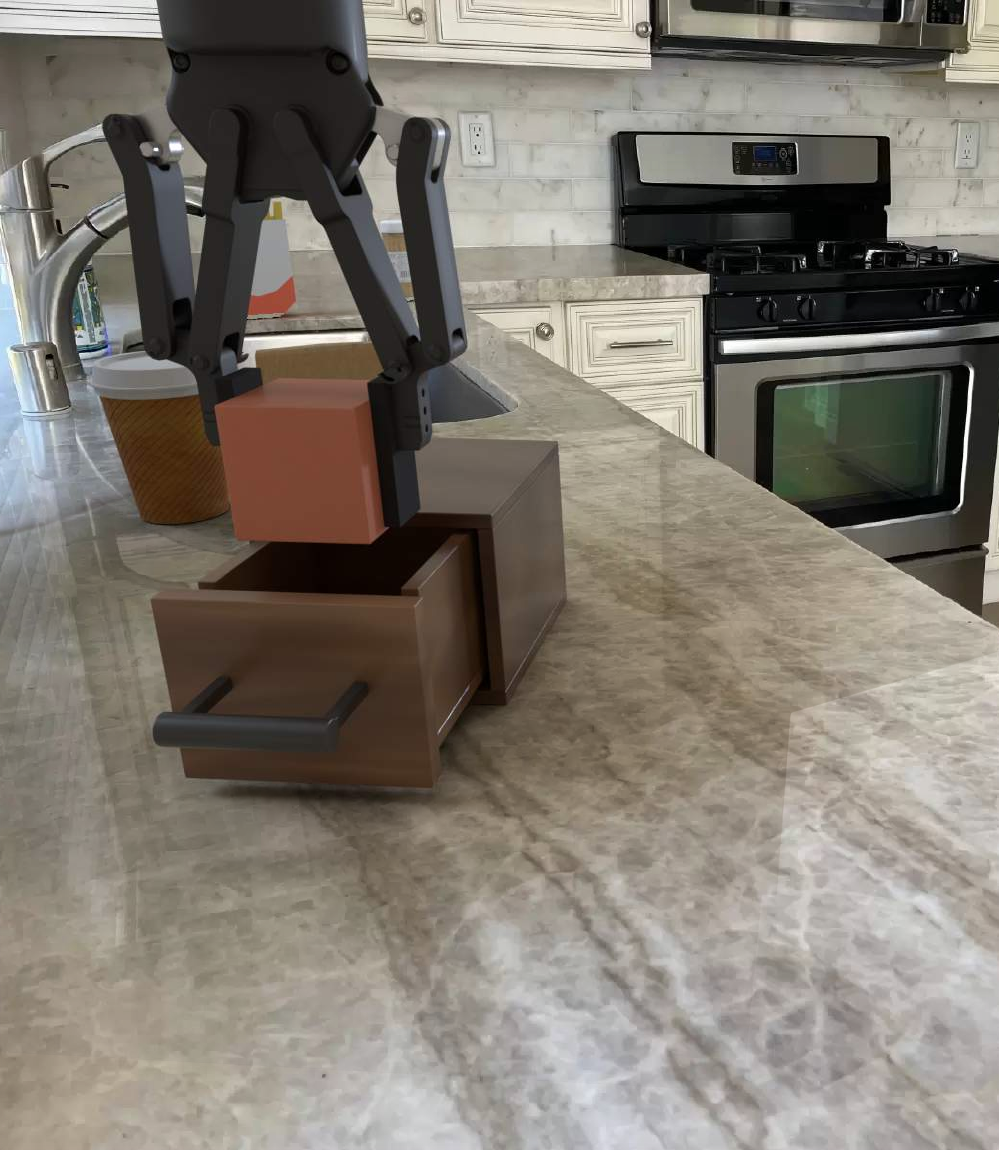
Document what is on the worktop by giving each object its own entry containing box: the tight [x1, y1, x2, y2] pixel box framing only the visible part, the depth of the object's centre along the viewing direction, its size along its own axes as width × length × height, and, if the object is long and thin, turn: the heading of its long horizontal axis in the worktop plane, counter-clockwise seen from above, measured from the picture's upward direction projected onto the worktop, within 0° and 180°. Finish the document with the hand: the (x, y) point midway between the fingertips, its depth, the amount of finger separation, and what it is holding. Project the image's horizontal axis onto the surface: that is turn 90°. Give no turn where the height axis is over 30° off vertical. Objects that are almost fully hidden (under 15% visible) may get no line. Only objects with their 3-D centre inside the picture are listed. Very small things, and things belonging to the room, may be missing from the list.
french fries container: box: [248, 201, 297, 315], centre depth 178 cm, size 5×11×18 cm, turn 123°
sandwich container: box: [254, 340, 384, 385], centre depth 85 cm, size 9×15×15 cm, turn 26°
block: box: [215, 378, 389, 544], centre depth 52 cm, size 6×6×6 cm
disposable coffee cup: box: [88, 350, 230, 525], centre depth 88 cm, size 10×10×12 cm
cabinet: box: [248, 437, 568, 706], centre depth 66 cm, size 15×13×11 cm
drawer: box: [149, 526, 489, 789], centre depth 54 cm, size 18×11×9 cm, turn 177°
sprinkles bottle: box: [379, 219, 414, 298], centre depth 198 cm, size 5×5×14 cm
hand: (330, 514), depth 53 cm, fingers closed on block, 6 cm apart
